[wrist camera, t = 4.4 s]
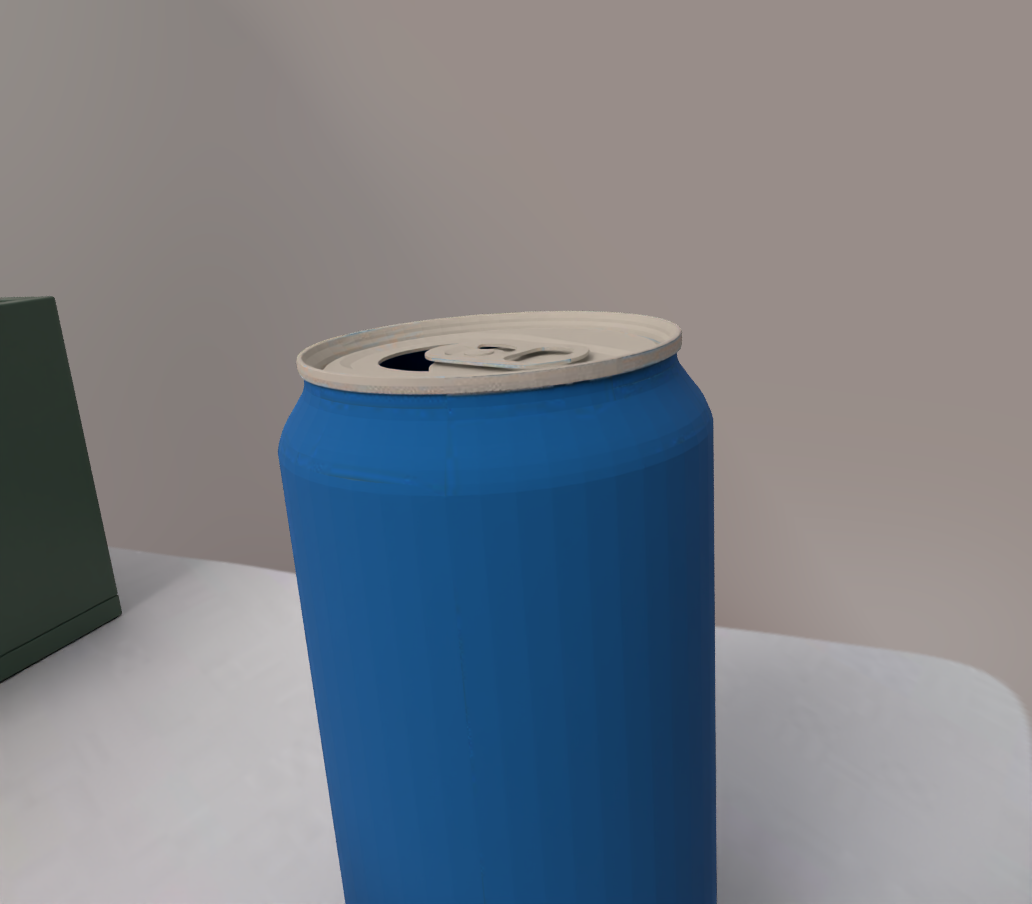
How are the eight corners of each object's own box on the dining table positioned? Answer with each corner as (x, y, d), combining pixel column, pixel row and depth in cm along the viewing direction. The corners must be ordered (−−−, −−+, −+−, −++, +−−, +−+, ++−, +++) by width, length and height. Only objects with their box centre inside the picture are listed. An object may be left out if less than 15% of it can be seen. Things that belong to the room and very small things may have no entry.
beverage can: (515, 816, 21) (473, 303, 17) (778, 947, 17) (789, 313, 13) (290, 1014, 16) (173, 363, 13) (579, 1263, 12) (520, 406, 9)
